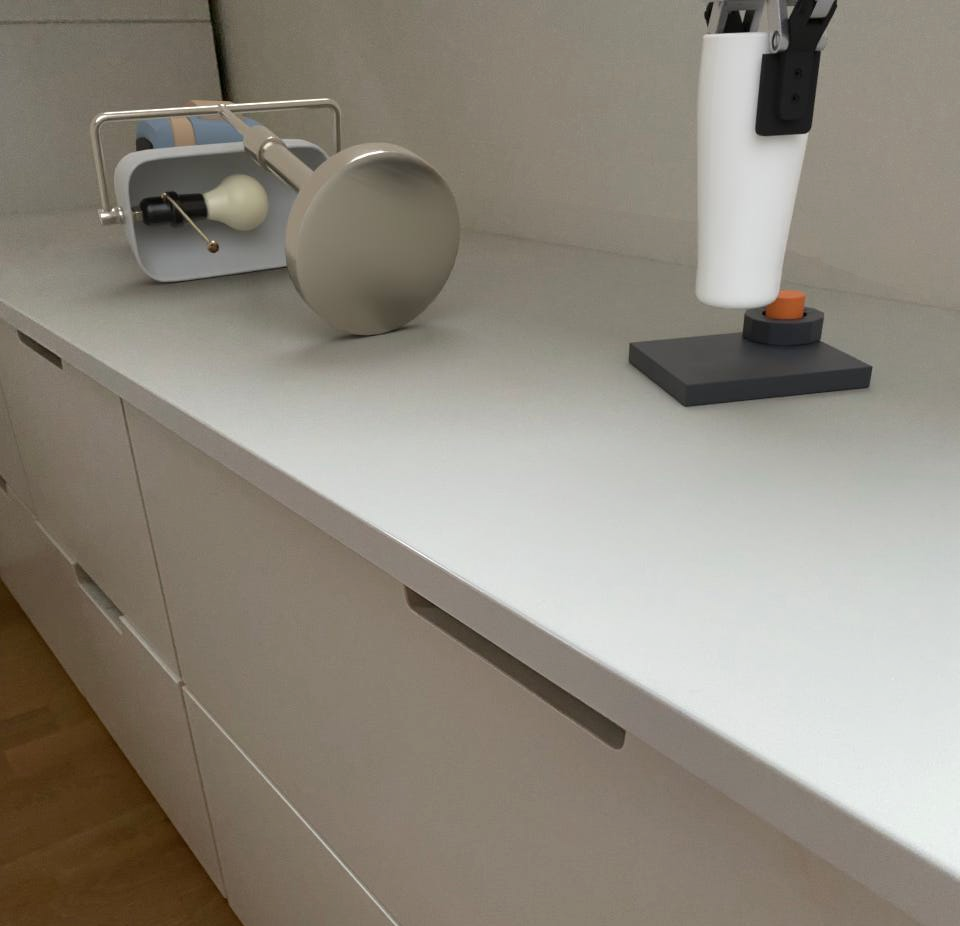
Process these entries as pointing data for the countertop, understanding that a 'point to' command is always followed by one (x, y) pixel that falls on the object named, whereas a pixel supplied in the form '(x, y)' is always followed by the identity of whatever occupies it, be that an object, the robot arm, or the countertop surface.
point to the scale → (750, 361)
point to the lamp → (288, 215)
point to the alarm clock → (188, 130)
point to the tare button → (787, 305)
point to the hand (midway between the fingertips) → (753, 127)
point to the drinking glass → (740, 178)
